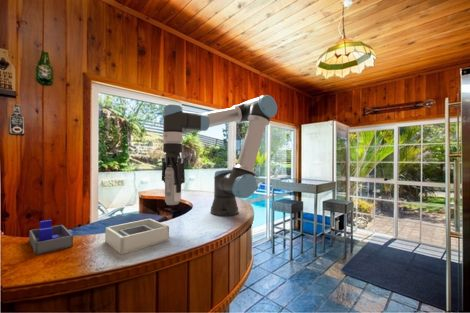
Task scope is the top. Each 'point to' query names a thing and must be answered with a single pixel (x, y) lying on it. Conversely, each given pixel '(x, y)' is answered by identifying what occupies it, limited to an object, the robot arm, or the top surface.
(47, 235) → the cable clip
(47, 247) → the clip tray
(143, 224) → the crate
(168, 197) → the energy drink can
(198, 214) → the top surface
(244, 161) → the robot arm
